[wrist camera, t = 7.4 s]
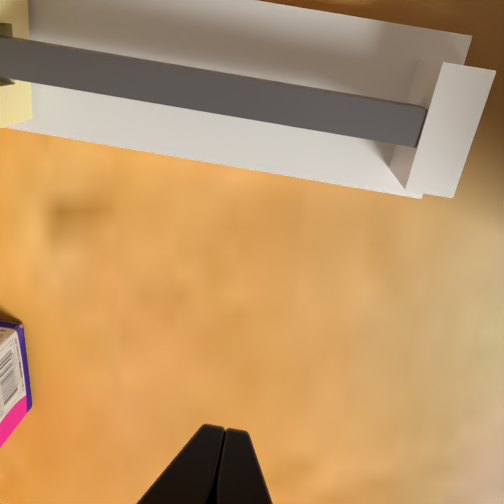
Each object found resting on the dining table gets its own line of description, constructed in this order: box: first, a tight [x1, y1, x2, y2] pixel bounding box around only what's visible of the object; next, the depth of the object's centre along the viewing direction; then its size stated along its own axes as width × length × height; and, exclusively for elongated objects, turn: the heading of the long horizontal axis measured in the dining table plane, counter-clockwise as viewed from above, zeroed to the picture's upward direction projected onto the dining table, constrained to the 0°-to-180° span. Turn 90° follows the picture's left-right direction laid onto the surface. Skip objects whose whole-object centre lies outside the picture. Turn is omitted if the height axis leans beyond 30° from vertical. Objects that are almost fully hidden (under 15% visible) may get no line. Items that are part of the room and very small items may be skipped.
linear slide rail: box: [0, 0, 496, 199], centre depth 16 cm, size 22×6×5 cm, turn 81°
